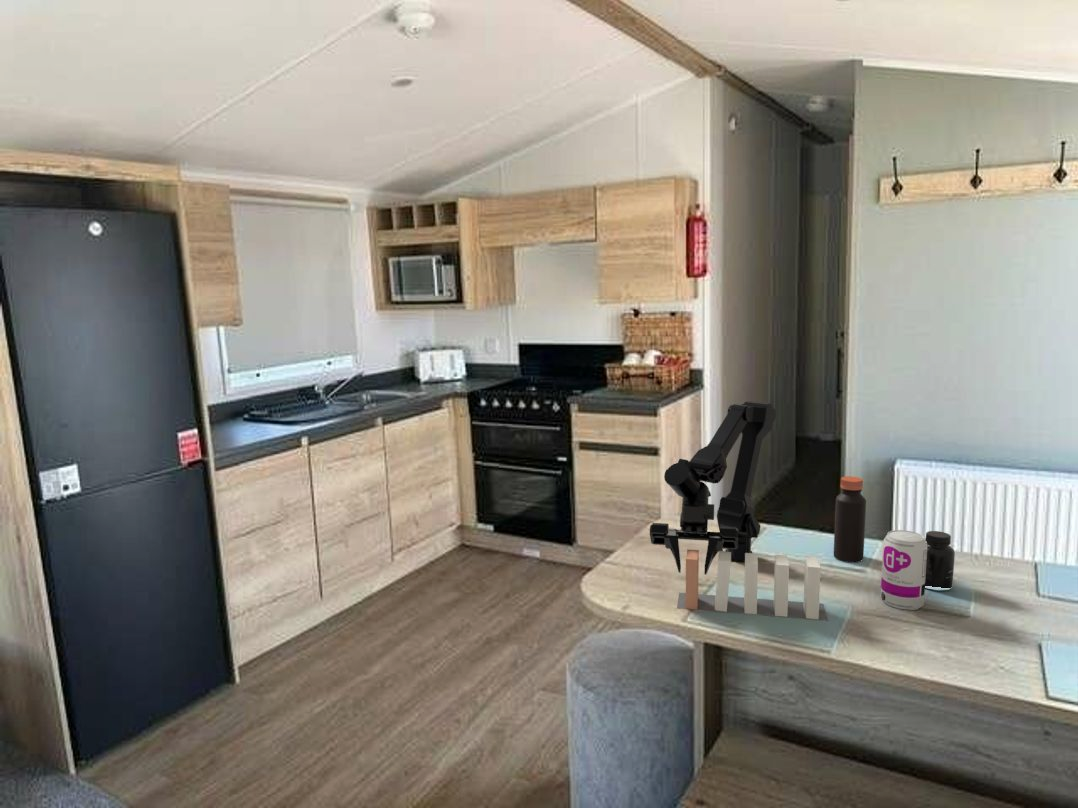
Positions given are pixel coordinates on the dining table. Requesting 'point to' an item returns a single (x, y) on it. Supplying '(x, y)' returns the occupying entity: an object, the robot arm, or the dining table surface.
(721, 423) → the robot arm
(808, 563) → the domino
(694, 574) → the orange end domino
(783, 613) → the domino
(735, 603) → the mat
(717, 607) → the domino
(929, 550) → the supplement bottle
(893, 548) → the supplement can
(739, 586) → the dining table surface
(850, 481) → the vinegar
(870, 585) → the dining table surface
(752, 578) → the domino
